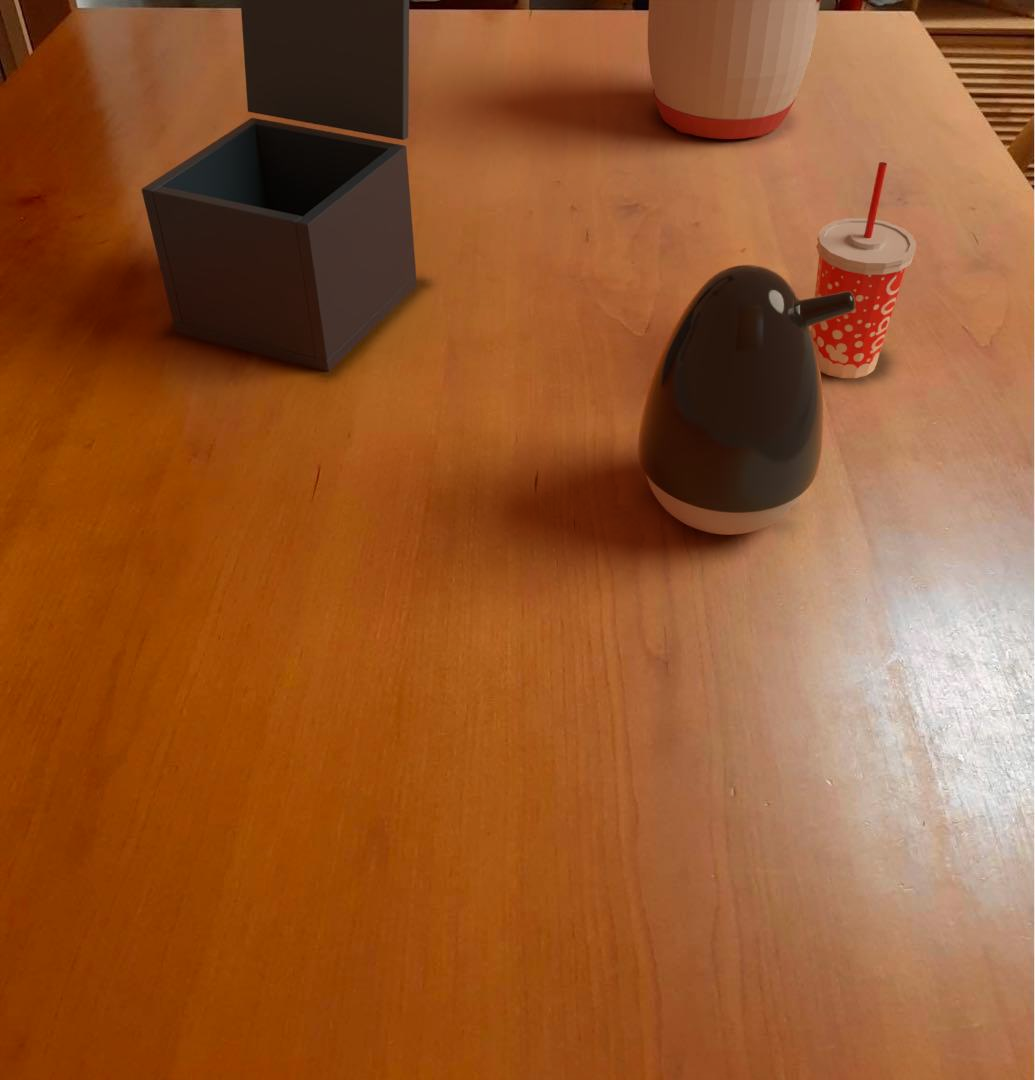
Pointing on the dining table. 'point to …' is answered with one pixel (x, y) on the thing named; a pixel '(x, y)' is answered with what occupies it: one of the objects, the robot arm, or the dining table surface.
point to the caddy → (285, 240)
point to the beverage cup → (859, 287)
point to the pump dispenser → (737, 403)
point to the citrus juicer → (729, 62)
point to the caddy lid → (329, 62)
